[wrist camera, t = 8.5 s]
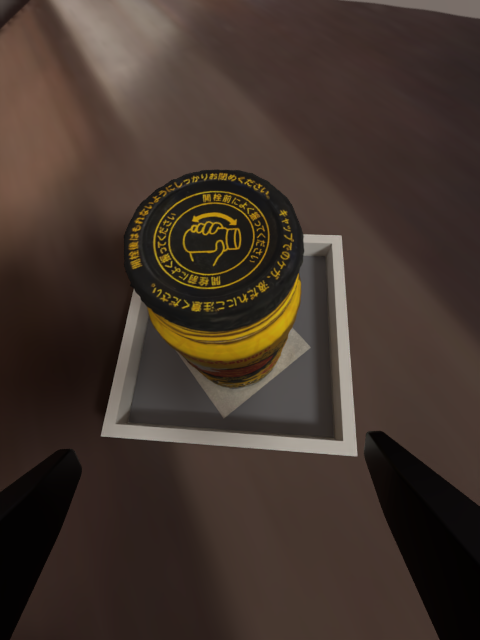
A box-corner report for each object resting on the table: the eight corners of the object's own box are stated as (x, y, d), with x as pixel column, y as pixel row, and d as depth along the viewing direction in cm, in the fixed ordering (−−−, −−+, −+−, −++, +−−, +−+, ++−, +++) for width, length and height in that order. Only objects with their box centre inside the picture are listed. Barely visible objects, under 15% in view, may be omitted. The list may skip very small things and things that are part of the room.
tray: (344, 451, 17) (357, 456, 15) (118, 434, 18) (100, 436, 16) (333, 253, 22) (341, 235, 20) (156, 247, 23) (147, 229, 21)
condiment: (224, 418, 17) (172, 415, 6) (154, 319, 20) (23, 184, 8) (310, 348, 18) (402, 235, 7) (234, 264, 21) (214, 83, 10)
